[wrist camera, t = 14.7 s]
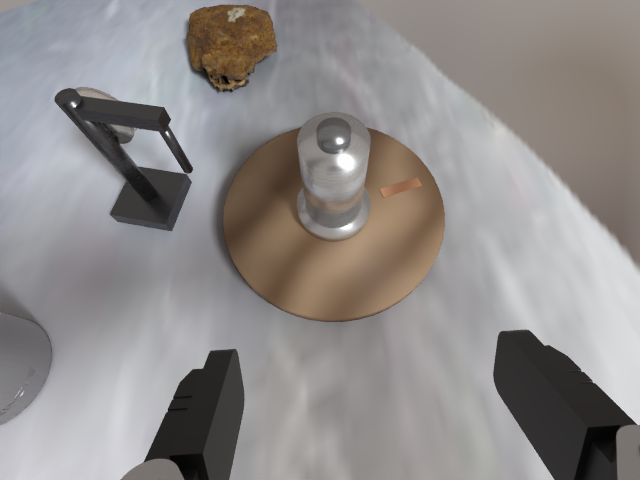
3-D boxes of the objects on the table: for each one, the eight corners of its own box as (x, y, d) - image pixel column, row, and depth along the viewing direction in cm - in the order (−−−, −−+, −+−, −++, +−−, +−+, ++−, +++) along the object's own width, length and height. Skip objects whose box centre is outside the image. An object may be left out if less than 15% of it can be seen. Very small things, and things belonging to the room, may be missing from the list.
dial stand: (117, 221, 38) (5, 123, 25) (140, 174, 41) (49, 62, 28) (208, 237, 37) (141, 144, 24) (226, 187, 40) (174, 78, 27)
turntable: (185, 262, 35) (178, 255, 34) (290, 108, 43) (288, 98, 41) (392, 365, 31) (395, 362, 29) (468, 173, 38) (473, 164, 37)
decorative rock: (292, 88, 46) (265, 18, 53) (290, 59, 43) (261, -13, 49) (201, 107, 45) (184, 32, 51) (191, 78, 41) (174, 1, 48)
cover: (285, 224, 35) (266, 150, 25) (317, 169, 37) (311, 82, 27) (351, 253, 33) (359, 187, 23) (380, 194, 36) (398, 112, 26)
